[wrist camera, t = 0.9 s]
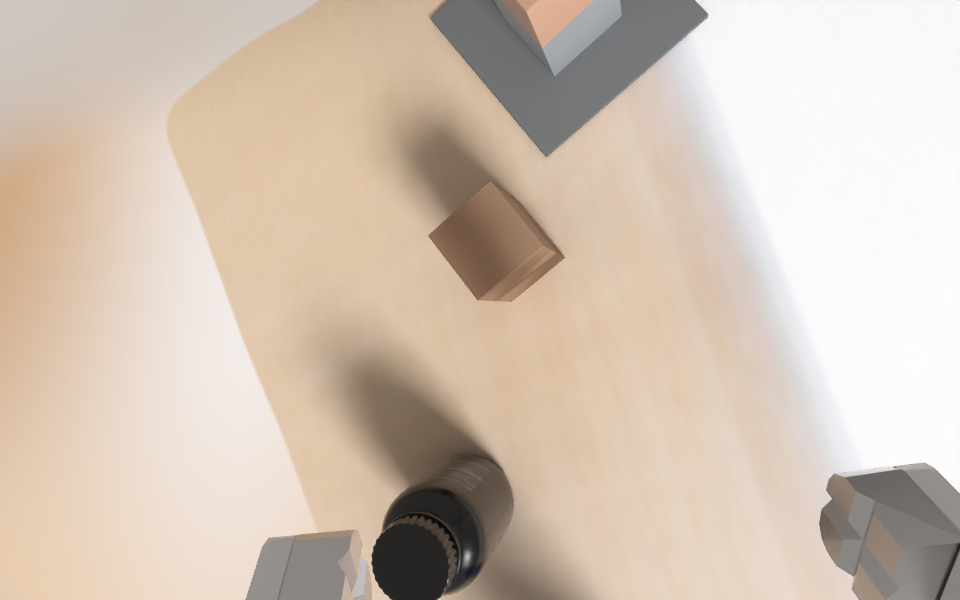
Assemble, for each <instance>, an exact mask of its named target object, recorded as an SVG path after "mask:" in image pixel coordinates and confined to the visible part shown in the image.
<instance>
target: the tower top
mask: <svg viewBox="0 0 960 600" xmlns="http://www.w3.org/2000/svg"><path fill="white" fill-rule="evenodd" d="M593 1H594V0H501V2H502V3H503V4H504V5H505V6H506V7H507V8H508V10H509V11H510V12H511V13H512V14H513V15H514V16H515V18H516V19H517V20H518V21H519V22H520V23H521V24H522V26H523V27H524V28H525V29H526V30H527V31H528V32H529V34H530V35H531V36H532V37H533V38H534V39H535V40H536V42H537V43H538V44H539V45H540V46H541V47H542V48H543V47H544V46H545V45H546V44H547V43H548V42H549V41H550V40H551V39H552V38H554V37H555V36H556V35H557V34H558V33H559V32H560V31H561V30H562V29H563V28H564V27H566V26H567V25H568V24H569V23H570V22H571V21H572V20H573V19H574V18H575V17H576V16H577V15H579V14H580V13H581V12H582V11H583V10H584V9H585V8H586V7H587V6H588V5H589V4H591V3H592V2H593Z"/></svg>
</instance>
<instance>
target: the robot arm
mask: <svg viewBox="0 0 960 600" xmlns="http://www.w3.org/2000/svg"><path fill="white" fill-rule="evenodd" d="M826 491H827V492H828V494H829V495H830V496H831V498H832V500H831V501H830V502H829V503H828V504H827V505H825V506H824V507H823V508H822V510H821V516H820V522H819V525H820V530H821V536H822V540H823V543H824V545H825V547H826V550H827V552H828V554H829V555H830V557H831V558H832V560H833V561H834V563H835V564H836V566H838V567H839V568H841V569H843V570H844V571H846V572H847V573H849V574H851V575H852V576H853V583H852V590H853V592H854V593H855V595H856V596H857V598H858V599H859V600H960V493H959V492H958V491H957V490H956V489H955V488H954V487H953V486H952V485H951V484H950V483H949V482H948V481H947V480H946V479H945V478H944V477H943V476H942V475H941V474H940V473H939V472H938V471H937V470H936V469H935V468H933V467H932V466H930V465H928V464H926V463H918V464H909V465H901V466H894V467H882V468H874V469H866V470H859V471H851V472H843V473H835V474H833V476H832V477H831V478H830V479H829V481H828V485H827V489H826ZM361 549H362V542H361V539H360V535H359V532H358V530H346V531H335V532H323V533H312V534H301V535H294V536H284V537H274V538H268V540H267V541H266V542H265V544H264V545H263V547H262V550H261V553H260V556H259V559H258V563H257V565H256V569H255V572H254V575H253V578H252V582H251V585H250V588H249V591H248V594H247V598H246V600H372V584H371V577H370V571H369V567H368V563H367V561H366V560H364V559H363V558H361Z"/></svg>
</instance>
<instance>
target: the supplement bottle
mask: <svg viewBox="0 0 960 600" xmlns="http://www.w3.org/2000/svg"><path fill="white" fill-rule="evenodd" d="M513 508H514V500H513V493H512V490H511V486H510V484H509V482H508V480H507V478H506V477H505V475H504V474H503V472H502V471H501V470H500V469H499V468H498V467H497V466H496V465H495V464H493V463H492V462H491V461H489V460H487V459H485V458H483V457H480V456H477V455H471V454H460V455H455V456H452V457H450V458H448V459H446V460H444V461H442V462H441V463H440V464H438V465H437V466H435V467H434V468H433V469H432V470H430V471H429V472H428V473H427V474H425V475H424V476H423V477H421V478H420V479H419V480H418V481H416V482H415V483H414V484H413V485H411V486H410V487H409V488H407V489H406V490H405V491H404V492H402V493H401V494H400V495H399V496H398V497H397V498H396V499H395V500H394V501H393V503H392V504H391V505H390V507H389V509H388V511H387V513H386V515H385V518H384V521H383V525H382V533H381V535H380V537H379V538H377V540H376V544H375V545H374V547H373V553H372V566H373V573H374V575H375V580H376V581H377V582H378V585H379V587H380V588H381V589H382V590H383V592H384V594H386V595H388V596H389V598H390V599H391V600H437V599H438V598H440V597H442V596H446V595H451V594H454V593H457V592H459V591H461V590H462V589H464V588H466V587H467V586H468V585H469V584H470V583H472V582H473V580H474V579H475V578H476V577H477V575H478V574H479V573H480V571H481V570H482V568H483V567H484V565H485V563H486V562H487V560H488V559H489V557H490V555H491V554H492V552H493V551H494V549H495V547H496V546H497V544H498V542H499V541H500V539H501V538H502V536H503V534H504V533H505V531H506V529H507V527H508V526H509V523H510V521H511V518H512V515H513Z"/></svg>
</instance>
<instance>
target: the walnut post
mask: <svg viewBox="0 0 960 600" xmlns="http://www.w3.org/2000/svg"><path fill="white" fill-rule="evenodd" d="M428 236H429V238H430V239H431V240H432V241H433V243H434V244H435V245H436V247H437V248H438V249H439V251H440V252H441V253H442V254H443V256H444V257H445V258H446V260H447V261H448V262H449V264H450V265H451V266H452V268H453V269H454V270H455V271H456V273H457V274H458V275H459V277H460V278H461V279H462V281H463V282H464V283H465V284H466V286H467V287H468V288H469V290H470V291H471V292H472V294H473V295H474V296H475V297H476V299H477V300H487V301H513V300H514V299H515V298H517V297H518V296H519V295H520V294H521V293H523V292H524V291H525V290H526V289H528V288H529V287H530V286H531V285H532V284H534V283H535V282H536V281H537V280H539V279H540V278H541V277H542V276H543V275H545V274H546V273H547V272H548V271H550V270H551V269H552V268H553V267H554V266H556V265H557V264H558V263H559V262H561V261H562V260H563V259H564V258H565V257H564V256H563V254H562V253H561V252H560V251H559V249H558V248H557V247H556V246H555V245H554V243H553V242H552V241H551V240H550V238H549V237H548V236H547V235H546V233H545V232H544V231H543V230H542V229H541V227H540V226H539V225H538V224H537V222H536V221H535V220H534V219H533V218H532V216H531V215H530V214H529V213H528V211H527V210H526V209H525V208H524V206H523V205H522V204H520V203H519V202H518V201H517V200H515V199H514V198H513V197H511V196H510V195H509V194H507V193H506V192H505V191H504V190H502V189H501V188H500V187H498V186H497V185H496V184H495V183H493V182H492V181H491V180H490V181H489V182H488V183H487V184H486V185H485V186H484V187H482V188H481V189H480V190H479V191H478V192H477V193H476V194H475V195H473V196H472V197H471V198H470V199H469V200H468V201H467V202H465V203H464V204H463V205H462V206H461V207H460V208H459V209H458V210H456V211H455V212H454V213H453V214H452V215H451V216H450V217H448V218H447V219H446V220H445V221H444V222H443V223H442V224H441V225H439V226H438V227H437V228H436V229H435V230H434V231H433V232H431V233H430V234H429V235H428Z"/></svg>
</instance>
